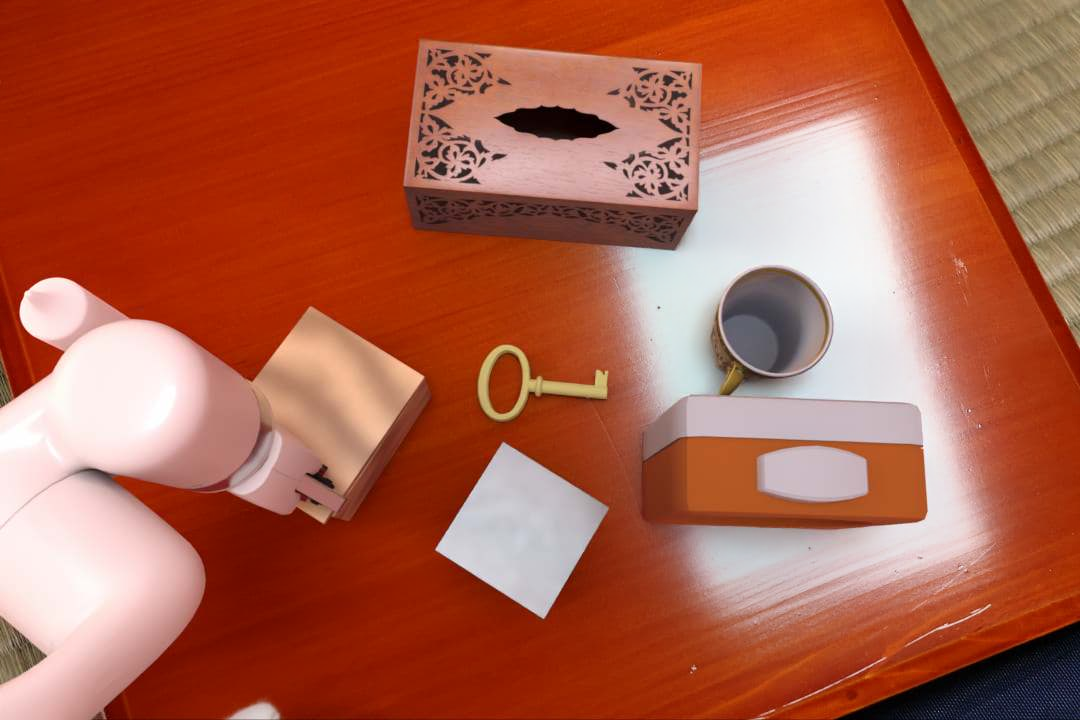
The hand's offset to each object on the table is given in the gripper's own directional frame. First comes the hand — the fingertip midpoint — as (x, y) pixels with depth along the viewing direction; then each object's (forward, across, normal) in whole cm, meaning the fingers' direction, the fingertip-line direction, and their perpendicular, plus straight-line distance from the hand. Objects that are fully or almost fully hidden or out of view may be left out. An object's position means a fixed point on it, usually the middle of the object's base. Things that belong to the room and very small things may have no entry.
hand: (279, 460), depth 69 cm
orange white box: (+10, +34, +20) cm, 41 cm away
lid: (+1, 0, +5) cm, 5 cm away
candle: (+10, -16, +1) cm, 19 cm away
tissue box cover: (+10, +3, +37) cm, 39 cm away
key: (+10, +14, +18) cm, 25 cm away
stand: (+10, +19, +5) cm, 22 cm away
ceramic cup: (+10, +28, +30) cm, 43 cm away
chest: (+10, 0, +5) cm, 11 cm away
